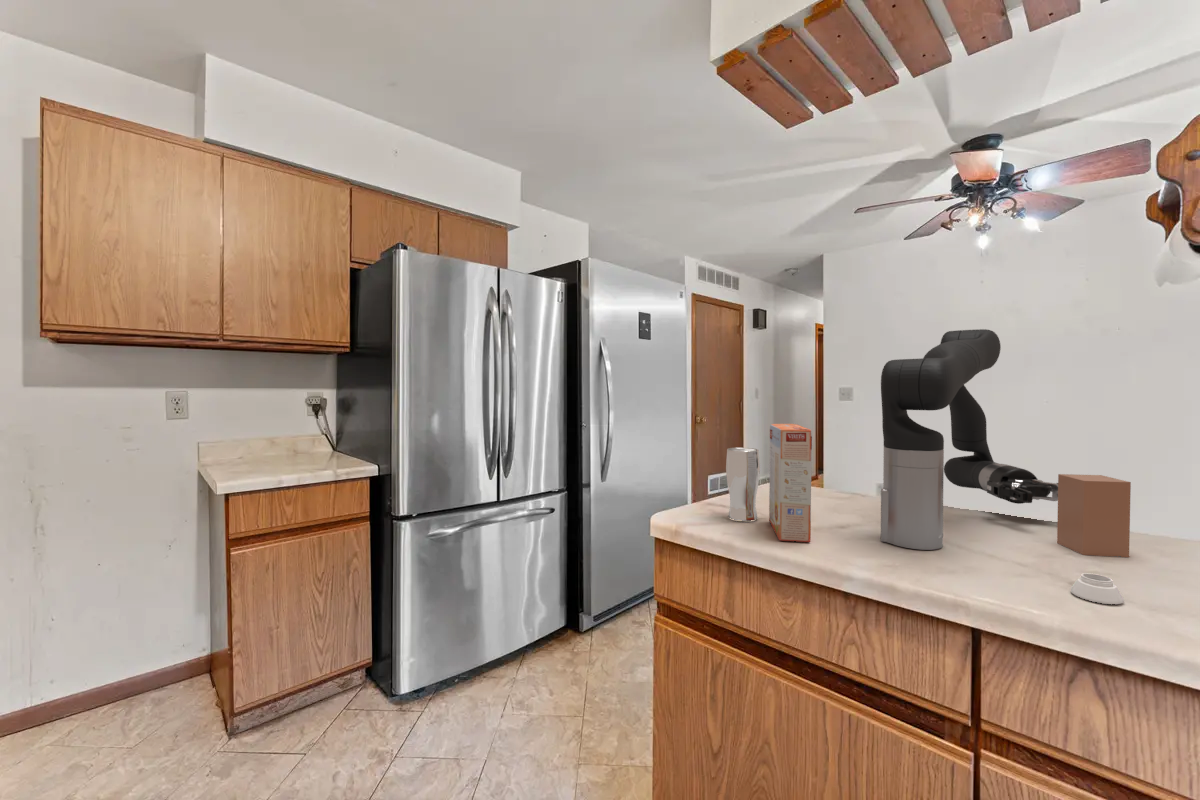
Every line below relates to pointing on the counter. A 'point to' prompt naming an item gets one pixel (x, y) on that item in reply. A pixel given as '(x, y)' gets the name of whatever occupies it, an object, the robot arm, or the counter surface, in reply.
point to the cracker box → (790, 482)
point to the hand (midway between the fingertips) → (1056, 498)
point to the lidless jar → (1097, 589)
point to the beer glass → (742, 482)
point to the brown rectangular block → (1094, 514)
